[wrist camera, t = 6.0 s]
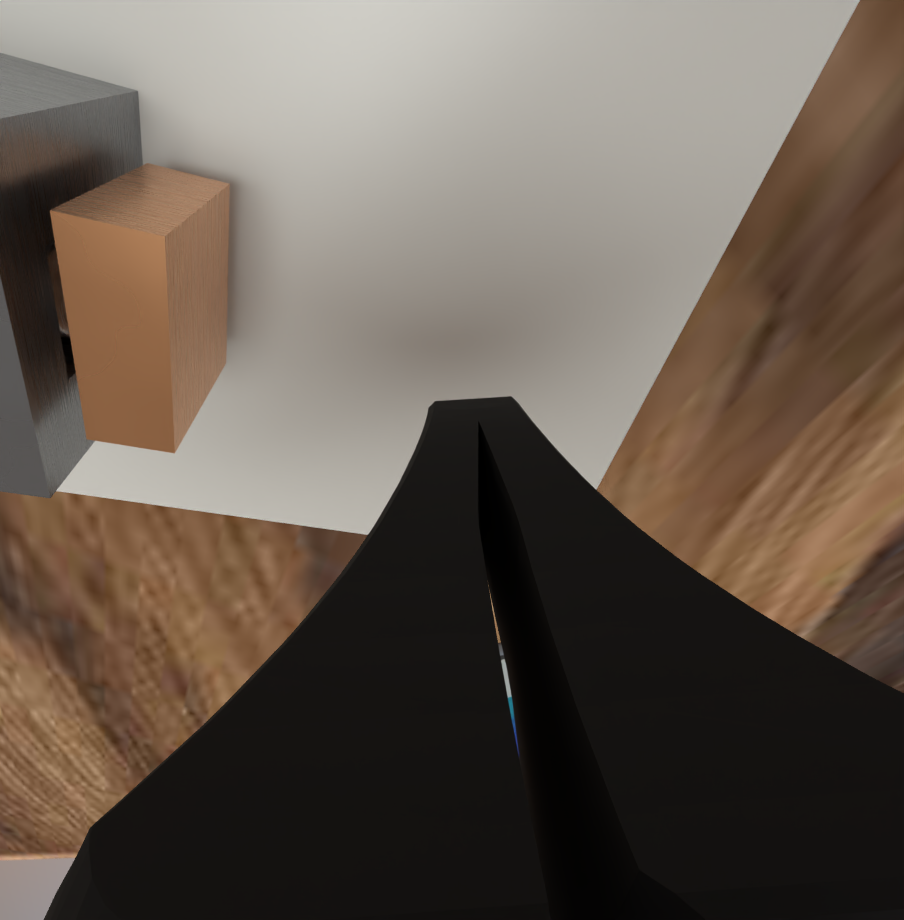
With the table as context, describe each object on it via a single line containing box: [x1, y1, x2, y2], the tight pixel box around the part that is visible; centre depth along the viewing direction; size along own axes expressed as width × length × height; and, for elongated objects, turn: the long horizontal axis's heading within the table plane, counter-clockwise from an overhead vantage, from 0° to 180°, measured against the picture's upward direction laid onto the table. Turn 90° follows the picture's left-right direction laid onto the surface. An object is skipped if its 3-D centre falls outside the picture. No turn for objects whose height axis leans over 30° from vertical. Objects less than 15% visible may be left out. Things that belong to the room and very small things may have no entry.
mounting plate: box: [0, 0, 860, 535], centre depth 13 cm, size 18×16×1 cm
